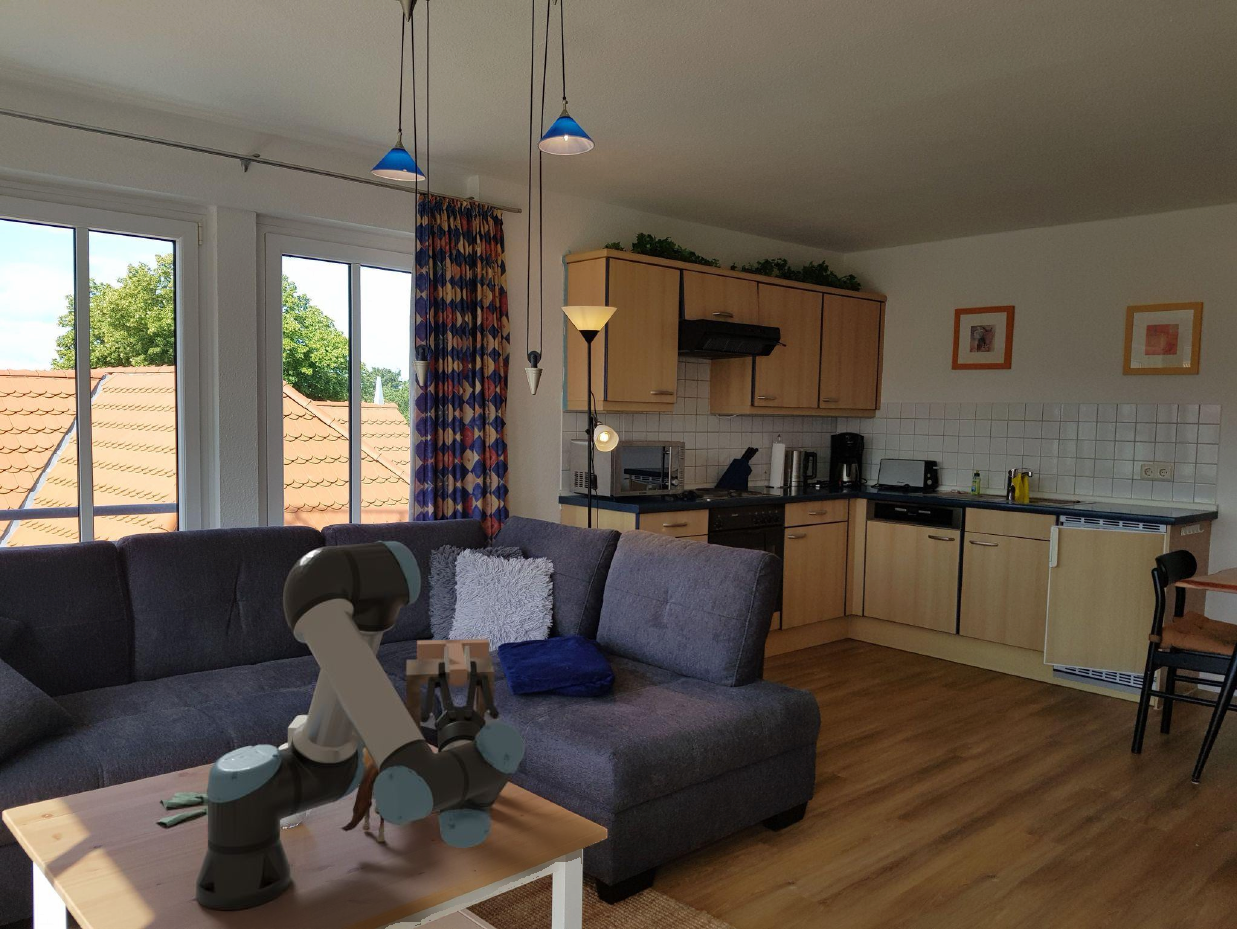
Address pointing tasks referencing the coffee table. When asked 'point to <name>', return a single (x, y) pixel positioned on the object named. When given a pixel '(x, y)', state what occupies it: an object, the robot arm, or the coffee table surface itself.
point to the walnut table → (427, 668)
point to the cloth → (184, 801)
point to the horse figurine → (366, 798)
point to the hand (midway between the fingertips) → (456, 651)
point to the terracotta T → (454, 655)
